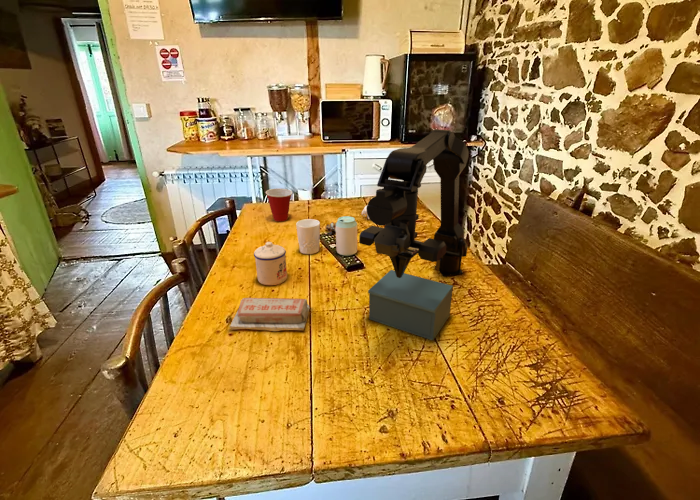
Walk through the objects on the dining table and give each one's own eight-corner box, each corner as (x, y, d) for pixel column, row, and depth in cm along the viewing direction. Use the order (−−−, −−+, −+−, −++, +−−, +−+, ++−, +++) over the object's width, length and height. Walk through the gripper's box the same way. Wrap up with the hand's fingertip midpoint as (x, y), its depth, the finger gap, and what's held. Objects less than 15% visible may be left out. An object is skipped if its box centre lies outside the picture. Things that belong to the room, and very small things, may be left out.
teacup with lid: (283, 286, 113) (280, 249, 108) (252, 285, 114) (248, 248, 109) (293, 267, 124) (290, 233, 119) (265, 266, 125) (261, 232, 120)
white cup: (293, 253, 134) (291, 225, 129) (304, 244, 140) (303, 217, 136) (314, 256, 131) (313, 228, 127) (324, 247, 138) (323, 220, 133)
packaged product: (309, 292, 100) (303, 315, 91) (310, 308, 102) (304, 332, 93) (239, 291, 101) (226, 313, 92) (241, 307, 103) (229, 330, 94)
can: (350, 258, 129) (349, 224, 124) (332, 253, 133) (331, 220, 128) (361, 250, 135) (361, 217, 130) (343, 246, 138) (343, 214, 133)
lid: (434, 313, 86) (434, 310, 86) (368, 293, 94) (368, 290, 94) (452, 288, 95) (453, 285, 95) (390, 272, 103) (390, 269, 103)
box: (432, 340, 90) (435, 311, 86) (369, 319, 98) (369, 292, 94) (449, 315, 99) (452, 288, 95) (390, 298, 107) (390, 272, 103)
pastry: (356, 235, 147) (356, 226, 146) (324, 235, 148) (324, 226, 146) (356, 228, 154) (356, 219, 152) (326, 228, 154) (325, 219, 153)
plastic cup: (292, 223, 159) (290, 195, 154) (265, 223, 159) (262, 195, 154) (296, 214, 169) (294, 187, 164) (271, 214, 169) (268, 187, 164)
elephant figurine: (362, 215, 167) (362, 201, 165) (380, 216, 166) (381, 202, 164) (360, 220, 161) (360, 207, 159) (379, 221, 160) (380, 207, 158)
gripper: (345, 214, 82) (345, 280, 89) (428, 231, 73) (422, 304, 79) (372, 201, 91) (371, 262, 97) (450, 215, 81) (443, 282, 88)
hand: (399, 277), depth 90 cm, fingers closed
